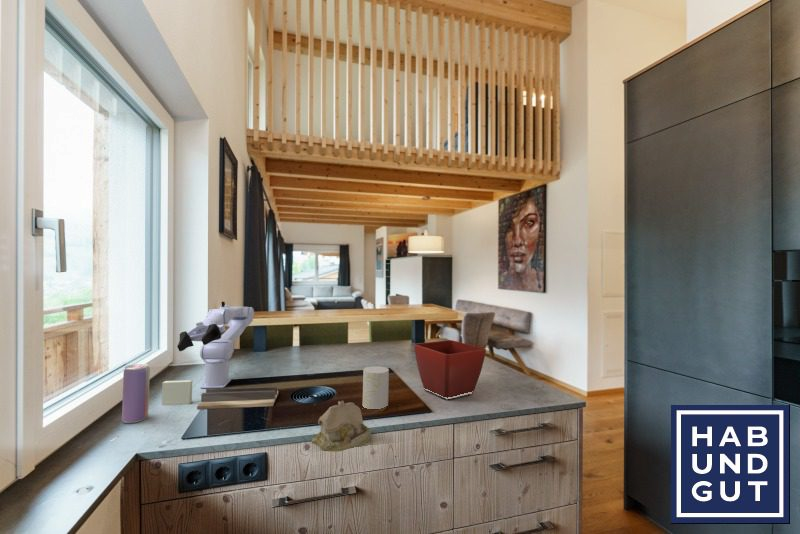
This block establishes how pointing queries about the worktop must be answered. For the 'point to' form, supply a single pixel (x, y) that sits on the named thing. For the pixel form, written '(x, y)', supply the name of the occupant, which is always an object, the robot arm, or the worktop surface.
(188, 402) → the cream rectangular block
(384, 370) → the white cylinder
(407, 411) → the worktop surface
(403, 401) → the worktop surface
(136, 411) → the beverage can
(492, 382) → the worktop surface
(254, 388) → the base
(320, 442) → the ceramic model
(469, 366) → the plant pot
